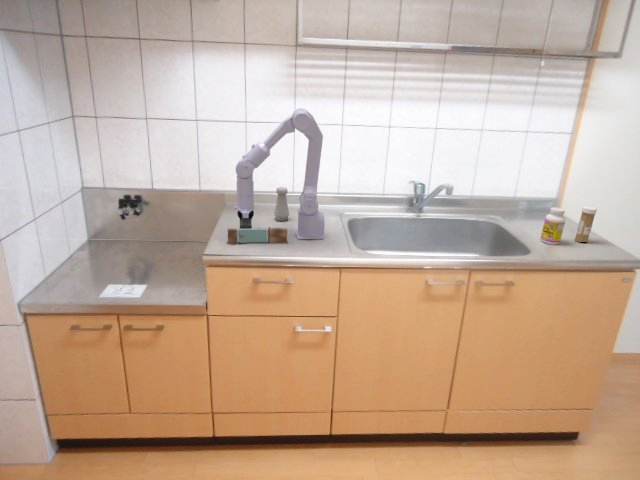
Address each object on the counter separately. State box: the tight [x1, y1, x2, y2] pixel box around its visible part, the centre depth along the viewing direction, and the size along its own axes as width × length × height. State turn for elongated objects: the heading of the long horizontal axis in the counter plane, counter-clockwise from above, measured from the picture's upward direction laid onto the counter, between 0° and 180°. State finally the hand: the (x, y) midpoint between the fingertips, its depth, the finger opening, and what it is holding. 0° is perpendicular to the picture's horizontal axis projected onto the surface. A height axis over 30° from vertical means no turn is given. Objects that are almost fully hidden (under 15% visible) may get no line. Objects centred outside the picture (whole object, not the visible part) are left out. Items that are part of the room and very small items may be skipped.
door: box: [237, 227, 268, 244], centre depth 154 cm, size 10×2×5 cm, turn 99°
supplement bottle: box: [540, 206, 566, 246], centre depth 166 cm, size 7×7×13 cm
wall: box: [227, 226, 288, 245], centre depth 154 cm, size 20×2×5 cm, turn 99°
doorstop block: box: [239, 218, 253, 229], centre depth 158 cm, size 4×4×6 cm
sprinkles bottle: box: [574, 205, 598, 243], centre depth 168 cm, size 5×5×13 cm
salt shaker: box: [273, 186, 290, 222], centre depth 176 cm, size 6×6×13 cm
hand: (245, 230), depth 161 cm, fingers closed
